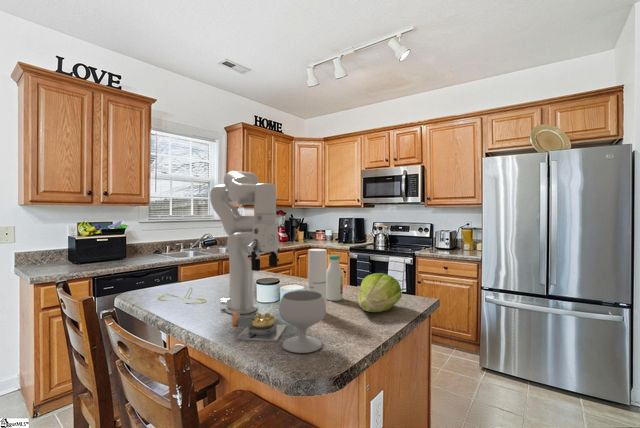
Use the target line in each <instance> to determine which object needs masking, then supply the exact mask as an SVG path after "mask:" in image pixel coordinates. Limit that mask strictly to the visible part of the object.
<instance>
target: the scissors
mask: <svg viewBox="0 0 640 428" xmlns="http://www.w3.org/2000/svg"><path fill="white" fill-rule="evenodd" d="M190 289H191V291H190ZM192 292H193V287H189V289H188V291H187V293H186V294H185V296H184V297H183V298H182V300H184V301H186V299H189V298H190V296H191V295H192ZM188 294H189V295H188ZM164 296H172V297H177V298H180V296H178V295H174V294H171V293H170V294H169V293H167V294H161V295H159V296H157V299H158V300H161V301H171V299H163V298H160V297H164ZM185 298H186V299H185ZM195 300H199V298H198V297H197V298H196V297H195ZM184 301H183V304H186V302H184ZM206 301H207V299H206V298H203V299H202V300H200V301H195V302H193V304H198V303H202V302H206Z"/></svg>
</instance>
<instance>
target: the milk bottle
mask: <svg viewBox="0 0 640 428" xmlns="http://www.w3.org/2000/svg"><path fill="white" fill-rule="evenodd" d="M343 278H344V277H343V270H342V267H341V266H340V255H339V254H334V255H333V254H331V255H329V264H328V267H327V268H326V301H327V300H328V301H332V302H334V301H335V302H337V301H341V300H343V298H344V297H343V293H344V292H343V291H344V289H343V285H344V283H343Z"/></svg>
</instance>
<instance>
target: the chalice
mask: <svg viewBox="0 0 640 428" xmlns="http://www.w3.org/2000/svg"><path fill="white" fill-rule="evenodd" d="M278 310H279V311H278V315H279V316H280V318H281V320H283V321H284V322H285V323H287V324H289V325H291V326H293V327H295V328H296V329H297V330H298V332H299V335H298V336H292V337H288V338H287V339H285V340H284V341H283V342H282V344H281V346H282V348H283V349H284V350H285V351H287V352H291V353H295V354H296V353H297V354H304V353H305V354H307V353H312V352H316V351H318V350H320V349H321V348H322V347H323V345H324V343H323V341H322V340H320V339H319V338H318V337H315V336H310V335H307V330H308V329H309V328H310V327H312V326H314V325H316V324H318V323H320V322H321V321H322V320H323V319H324V318H325V316H326V314H327V303H326V304H325V301H324V298H323V296H322V294H320V293H318V292H314V291H308V290H293V291H292V290H291V291H288V292H286V293H284V294H283V295H282V297H281V298H280V302H279V308H278Z"/></svg>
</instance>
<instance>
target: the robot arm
mask: <svg viewBox="0 0 640 428" xmlns="http://www.w3.org/2000/svg"><path fill="white" fill-rule="evenodd" d="M209 198H210V203H211V206H212V209H213V210H214V211H215V213H216V214H217V216H218V217H219V218H220V219H219V220H220V221H221V224H222V226H223V230H224V231H225V233H226V235H227V236H228V237H227V244H226V245H227V252H228V259H229V285H228V286H229V287H228V289H229V295H228V297H229V298H228V297H227V298H221V299H220V300H219V303H220V305H222V306H223V305H226V306H225V313H228V314H231V315H232V314H233V313H239V315H245V314H250V313H254V312H255V311H257V309H258V305H257V304H256V303H254V282H255V281H254V280H255V279H254V276H255V275H254V272H260V271H261V259H260V256H261V255H264V254H267V253H269V255H268V266H269V267H275V268H276V267H277V266H278V255H279V251H280V247H281V242H280V239H279V228H278V224H277V185H275V184H273V183H268V182H267V183H265V182H264V183H263V182H261V183H260V182H259V179H258V176H257V175H256V174H255V173H254V172H250V171H238V170H237V171H236V170H231V171H229V172H227V173H226V174H225V175H224V177H223V184H218V185H214V186H213V187H211V190H210V193H209ZM233 204H235V205H243V206H244V205H248V206H249V205H251V206H253V209H254V210H253V215H241V214H240V211H239V210H238V208H236V206H234V205H233ZM248 256H249V257H248Z"/></svg>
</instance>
